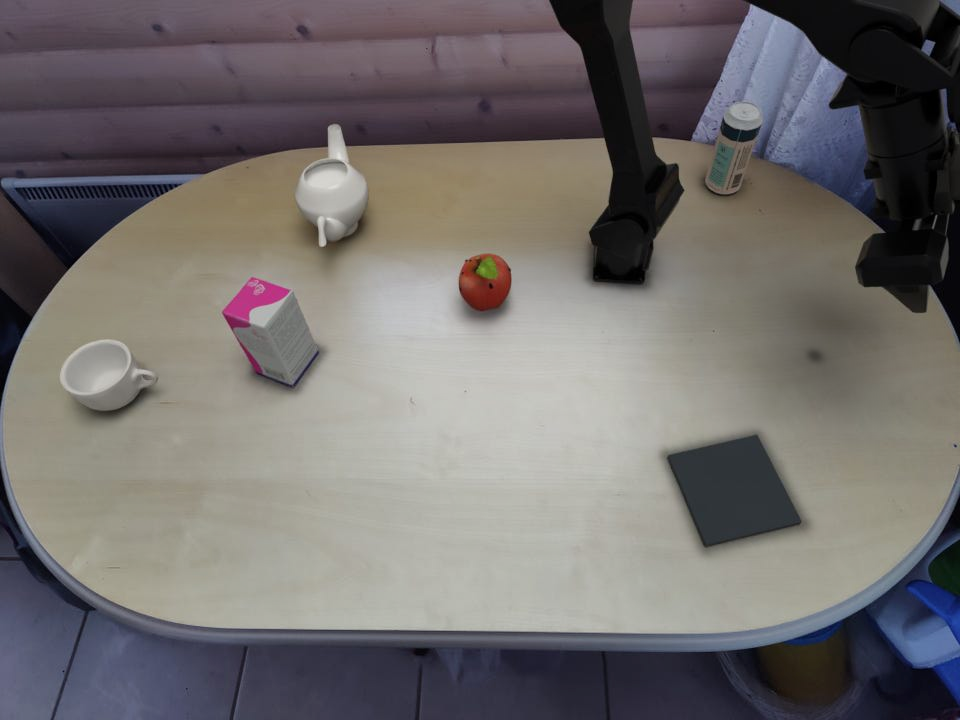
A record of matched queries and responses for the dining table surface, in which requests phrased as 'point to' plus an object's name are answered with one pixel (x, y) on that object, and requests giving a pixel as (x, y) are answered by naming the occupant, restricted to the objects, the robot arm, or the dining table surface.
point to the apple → (485, 281)
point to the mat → (733, 490)
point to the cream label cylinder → (734, 147)
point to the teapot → (332, 191)
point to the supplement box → (271, 331)
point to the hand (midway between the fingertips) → (928, 279)
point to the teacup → (104, 375)
